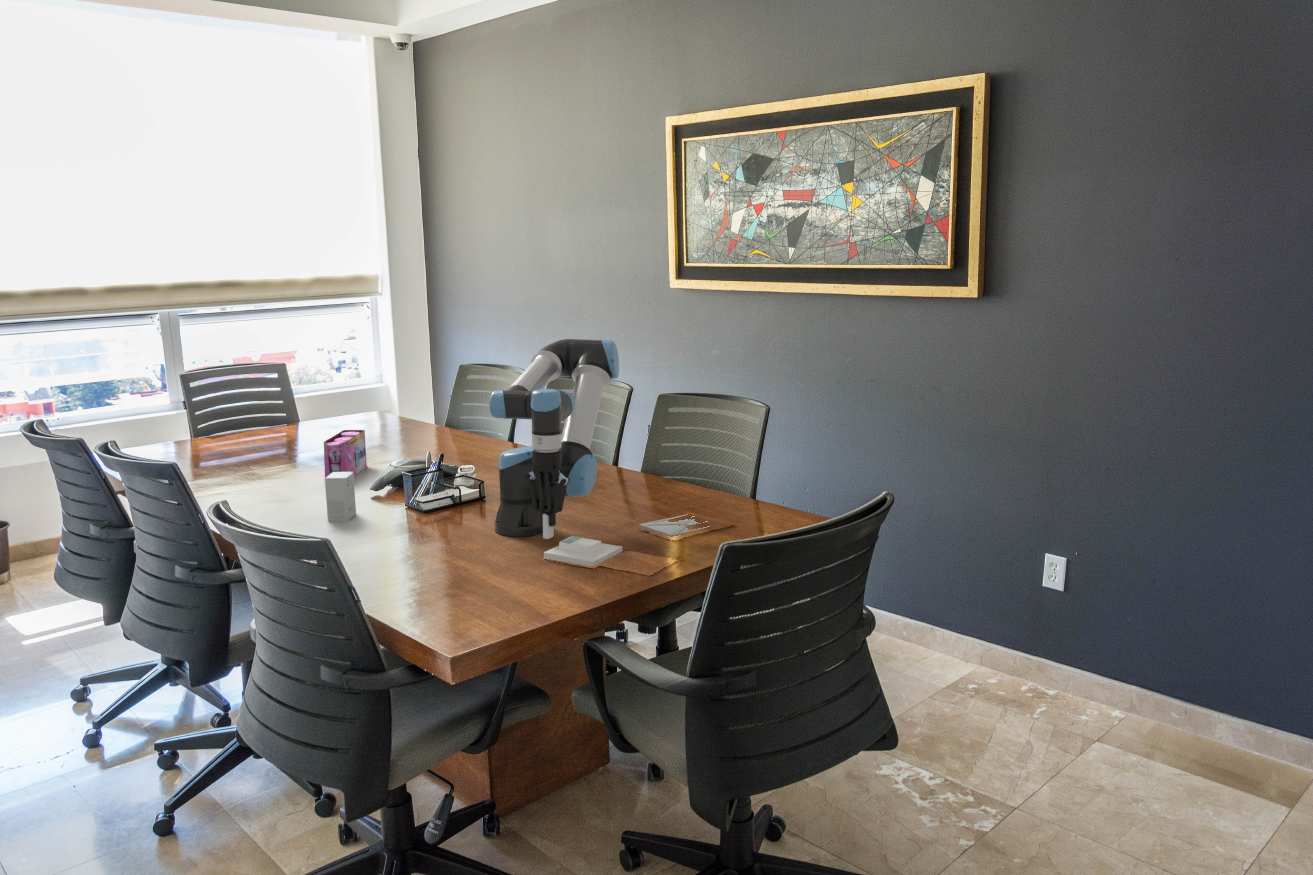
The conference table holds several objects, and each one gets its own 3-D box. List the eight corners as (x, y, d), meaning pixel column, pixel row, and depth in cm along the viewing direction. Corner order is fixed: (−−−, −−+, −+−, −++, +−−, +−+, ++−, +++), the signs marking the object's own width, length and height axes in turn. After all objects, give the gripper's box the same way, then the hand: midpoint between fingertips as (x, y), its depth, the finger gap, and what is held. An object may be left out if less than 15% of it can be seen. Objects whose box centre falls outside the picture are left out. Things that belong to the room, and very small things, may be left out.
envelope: (733, 527, 278) (701, 517, 288) (734, 520, 277) (701, 510, 288) (671, 542, 263) (639, 530, 273) (671, 534, 262) (639, 523, 272)
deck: (574, 545, 259) (574, 538, 258) (622, 554, 252) (622, 546, 251) (543, 559, 247) (543, 552, 246) (593, 569, 240) (593, 561, 239)
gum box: (346, 482, 327) (344, 443, 324) (323, 482, 327) (320, 442, 324) (367, 466, 351) (365, 429, 348) (345, 466, 351) (343, 429, 348)
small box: (335, 513, 288) (332, 471, 286) (356, 513, 289) (354, 471, 286) (327, 521, 280) (324, 477, 278) (349, 521, 281) (346, 477, 278)
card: (572, 543, 254) (572, 535, 254) (601, 548, 250) (601, 540, 249) (559, 549, 249) (559, 541, 249) (588, 554, 245) (588, 546, 244)
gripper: (517, 449, 249) (519, 537, 254) (559, 454, 243) (560, 544, 247) (535, 444, 256) (536, 530, 260) (576, 449, 249) (577, 537, 254)
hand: (548, 537), depth 254 cm, fingers closed
